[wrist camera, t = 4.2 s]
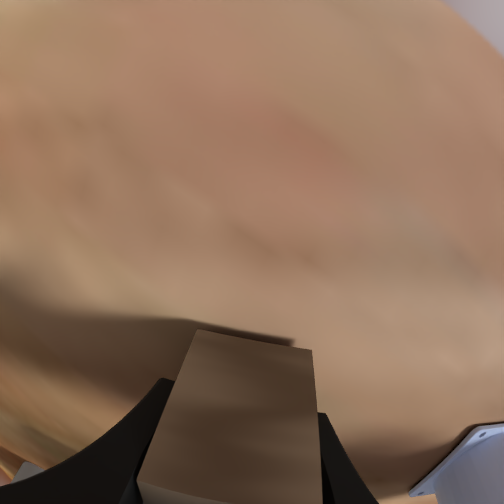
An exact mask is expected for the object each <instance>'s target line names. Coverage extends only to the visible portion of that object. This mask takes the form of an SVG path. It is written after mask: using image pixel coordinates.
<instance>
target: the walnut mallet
mask: <svg viewBox="0 0 504 504" xmlns="http://www.w3.org/2000/svg"><path fill="white" fill-rule="evenodd" d="M137 483H138V487H139V490H140V493H141V496H142V499H143V502H144V504H323V500H322V477H321V458H320V442H319V427H318V414H317V401H316V390H315V379H314V368H313V358H312V350H308V349H302V348H295V347H289V346H283V345H277V344H271V343H266V342H260V341H255V340H249V339H244V338H239V337H234V336H229V335H224V334H220V333H215V332H210V331H206V330H201V329H197V331H196V333H195V335H194V338H193V340H192V342H191V345H190V347H189V350H188V352H187V355H186V357H185V359H184V362H183V364H182V367H181V369H180V372H179V374H178V376H177V379H176V381H175V384H174V386H173V389H172V391H171V394H170V396H169V399H168V401H167V403H166V406H165V408H164V411H163V413H162V416H161V418H160V421H159V423H158V426H157V428H156V431H155V434H154V436H153V439H152V441H151V444H150V446H149V449H148V451H147V454H146V456H145V459H144V462H143V464H142V467H141V469H140V472H139V474H138V477H137Z"/></svg>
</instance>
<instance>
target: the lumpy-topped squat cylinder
mask: <svg viewBox="0 0 504 504" xmlns="http://www.w3.org/2000/svg"><path fill="white" fill-rule="evenodd" d="M43 471H45V470H44V469H42V468H40V467H38V466H37V465H35V464H33V463H30V462H27V461H25V462H23V464H22V465H21V467H20V469H19V470H18V472H17V474H16V475H15V477H14V478H13V480H12V482H11V483H14V482H17V481H21V480H23V479H26V478H29V477H31V476H34V475H36V474H38V473H41V472H43ZM11 483H10V484H11Z"/></svg>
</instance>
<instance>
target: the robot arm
mask: <svg viewBox="0 0 504 504" xmlns="http://www.w3.org/2000/svg"><path fill="white" fill-rule="evenodd" d="M174 384H175V381H172V380H169V379H166V378H160V379H159V380H158V381H157V382H156V384H155V385H154V386H153V388H152V389H151V390H150V391H149V392H148V393H147V395H146V396H145V397H144V398H143V399H142V400H141V401H140V402H139V403H138V404H137V405H136V406H135V407H134V408H133V409H132V410H131V411H130V412H129V413H128V414H127V415H126V416H125V417H124V418H123V419H122V420H121V421H119V422H118V423H117V424H116V425H115V426H114V427H112V428H111V429H110V430H109V431H108V432H106V433H105V434H104V435H103V436H101V437H100V438H99V439H97V440H96V441H95V442H93V443H92V444H91V445H89V446H88V447H86V448H85V449H83V450H82V451H80V452H79V453H77V454H75V455H74V456H72V457H70V458H68V459H67V460H65V461H63V462H61V463H60V464H58V465H56V466H54V467H52V468H50V469H47V470H45V471H43V472H41V473H38V474H36V475H34V476H31V477H29V478H26V479H23V480H21V481H17V482H14V483H11V484H7V485H4V486H0V504H143V499H142V496H141V493H140V490H139V487H138V483H137V477H138V474H139V472H140V469H141V467H142V464H143V462H144V459H145V456H146V454H147V451H148V449H149V446H150V444H151V441H152V439H153V436H154V434H155V431H156V428H157V426H158V423H159V421H160V418H161V416H162V413H163V411H164V408H165V406H166V403H167V401H168V399H169V396H170V394H171V391H172V389H173V386H174ZM317 414H318V427H319V442H320V458H321V477H322V500H323V504H379V503H378V502H377V501H376V499H375V498H374V497H373V495H372V494H371V493H370V491H369V490H368V488H367V487H366V485H365V484H364V482H363V481H362V479H361V478H360V476H359V475H358V473H357V471H356V470H355V468H354V466H353V464H352V463H351V461H350V459H349V457H348V456H347V454H346V452H345V450H344V448H343V446H342V444H341V443H340V441H339V439H338V437H337V435H336V433H335V431H334V429H333V427H332V425H331V423H330V421H329V419H328V417H327V415H326V413H319V412H317ZM434 493H435V495H436V498H437V501H438V504H504V423H503V424H495V425H486V426H478V427H476V428H474V429H473V430H472V431H471V432H470V433H469V434H468V435H467V436H466V438H465V439H464V440H463V441H462V442H461V443H460V444H459V445H458V446H457V447H456V448H455V449H454V450H453V451H452V452H451V453H450V454H449V455H448V456H447V457H446V458H445V459H444V460H443V461H442V462H441V463H440V464H439V465H438V466H437V467H436V468H435V469H434V470H433V471H432V472H431V473H430V474H429V475H427V476H426V477H425V478H424V479H423V480H422V481H421V482H420V483H418V484H417V485H416V486H415V487H414V488H412V489H411V490H410V491H409V496H410V497H415V496H422V495H428V494H434Z"/></svg>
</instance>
